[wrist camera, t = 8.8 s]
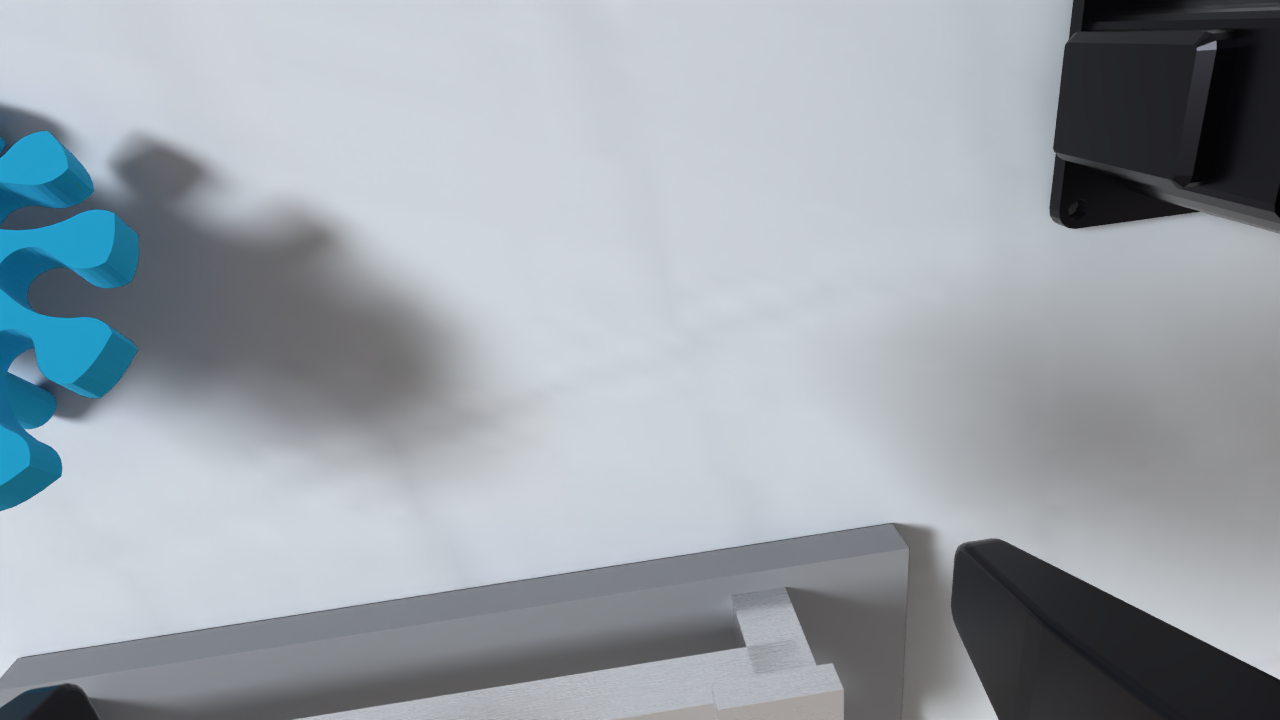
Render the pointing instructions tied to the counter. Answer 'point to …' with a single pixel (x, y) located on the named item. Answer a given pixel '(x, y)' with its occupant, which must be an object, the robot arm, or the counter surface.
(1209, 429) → the counter surface
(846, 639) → the bolt plate
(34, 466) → the gear
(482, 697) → the divider frame
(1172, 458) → the counter surface
